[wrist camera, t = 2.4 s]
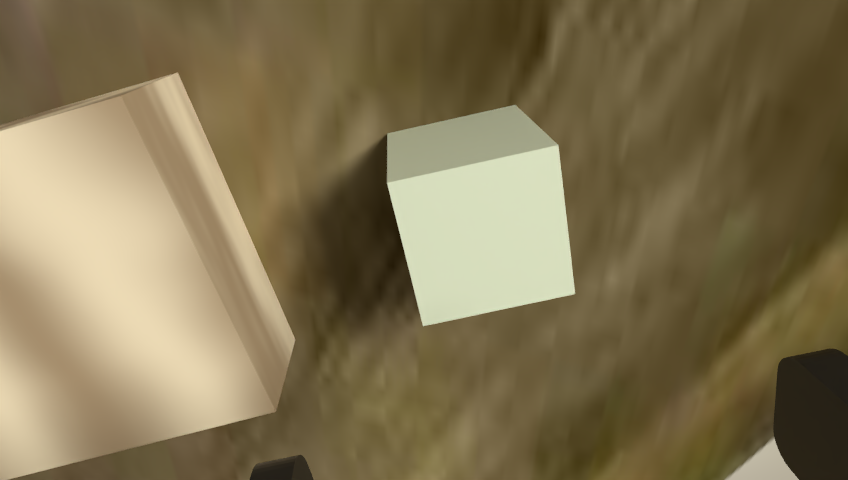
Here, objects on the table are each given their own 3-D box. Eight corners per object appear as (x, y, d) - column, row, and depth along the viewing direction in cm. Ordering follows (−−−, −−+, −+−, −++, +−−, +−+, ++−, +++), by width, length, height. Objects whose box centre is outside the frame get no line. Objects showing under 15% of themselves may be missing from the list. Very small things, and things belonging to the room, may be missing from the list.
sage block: (515, 104, 21) (558, 145, 16) (531, 222, 24) (574, 293, 18) (387, 133, 22) (387, 182, 16) (415, 248, 24) (423, 326, 18)
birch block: (180, 71, 21) (120, 95, 16) (296, 335, 25) (276, 411, 21) (-118, 159, 21) (-256, 206, 17) (51, 399, 26) (-20, 486, 22)
